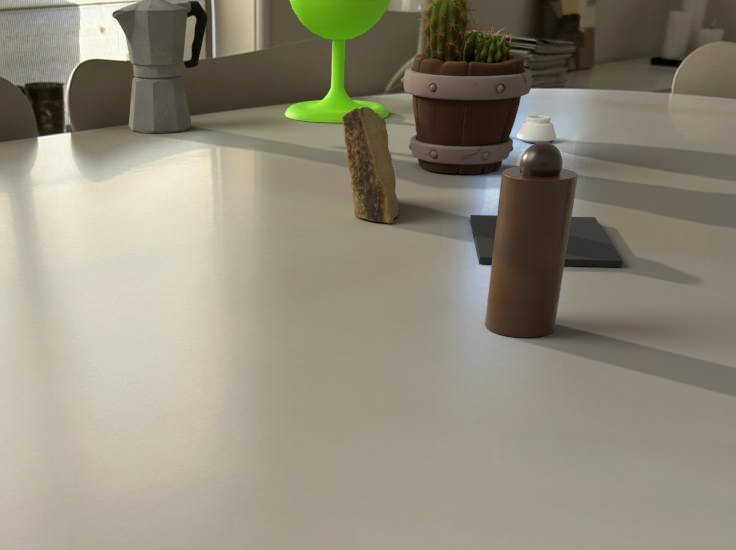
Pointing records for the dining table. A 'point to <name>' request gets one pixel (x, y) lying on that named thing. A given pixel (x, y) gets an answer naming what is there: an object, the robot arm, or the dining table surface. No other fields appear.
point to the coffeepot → (160, 62)
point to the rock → (370, 166)
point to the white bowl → (537, 129)
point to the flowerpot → (463, 93)
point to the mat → (582, 248)
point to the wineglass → (336, 52)
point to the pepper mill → (530, 244)
